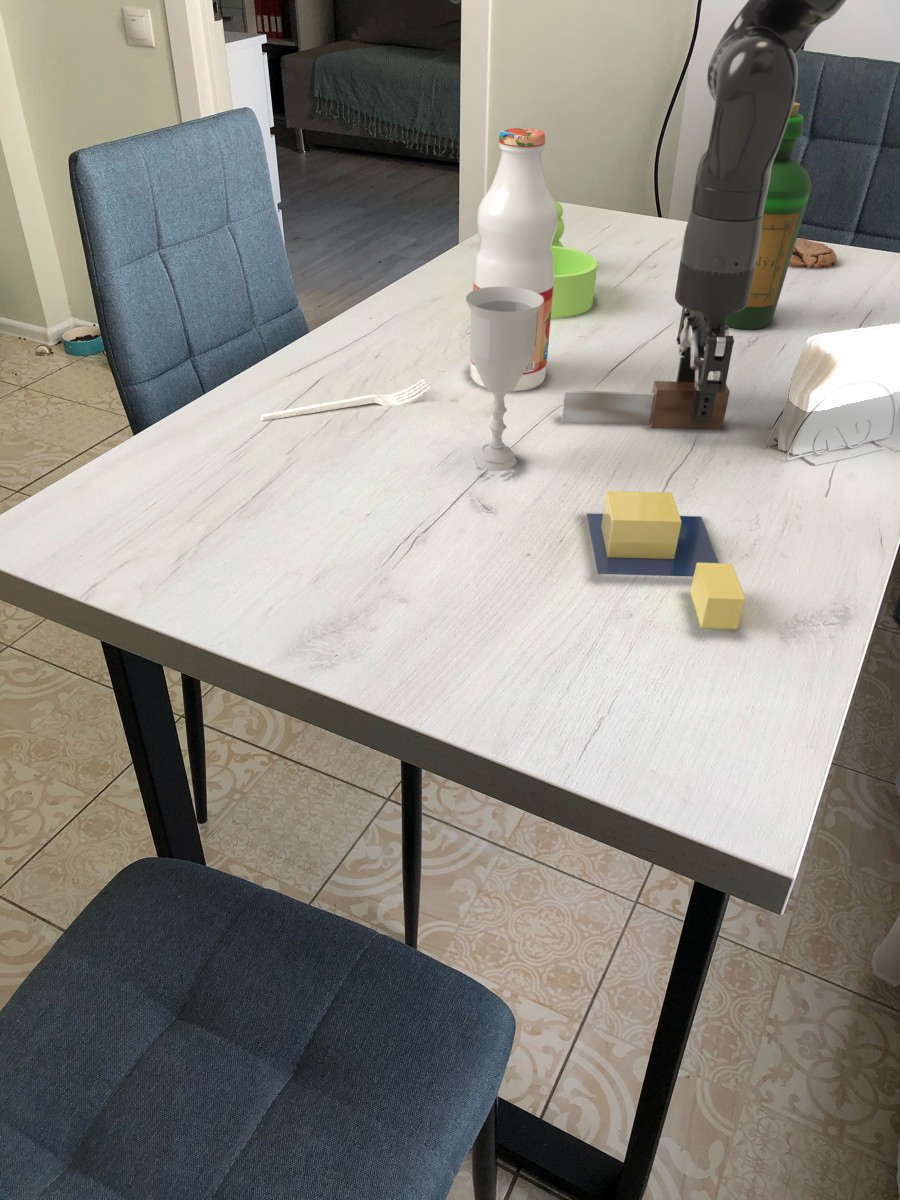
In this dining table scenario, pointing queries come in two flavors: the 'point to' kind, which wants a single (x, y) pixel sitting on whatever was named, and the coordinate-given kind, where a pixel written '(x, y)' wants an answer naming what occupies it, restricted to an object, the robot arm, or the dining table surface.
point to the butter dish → (683, 554)
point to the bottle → (777, 230)
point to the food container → (571, 276)
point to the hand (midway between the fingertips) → (692, 404)
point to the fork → (355, 402)
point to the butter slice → (717, 596)
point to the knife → (643, 407)
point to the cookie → (812, 255)
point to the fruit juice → (519, 237)
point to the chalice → (501, 355)
